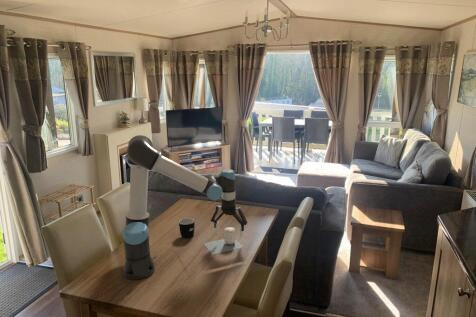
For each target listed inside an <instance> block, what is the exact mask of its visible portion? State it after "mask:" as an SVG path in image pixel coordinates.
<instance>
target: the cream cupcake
mask: <svg viewBox="0 0 476 317" xmlns="http://www.w3.org/2000/svg"><path fill="white" fill-rule="evenodd" d="M223 239H224V242H225V243H228V244H232V243H235V239H236V228H235V227H231V226H229V227H228V226H227V227H225V228H223Z"/></svg>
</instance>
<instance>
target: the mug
mask: <svg viewBox="0 0 476 317" xmlns="http://www.w3.org/2000/svg"><path fill="white" fill-rule="evenodd" d="M195 224H196V223H195V219H193V218H190V217H189V218H188V217H187V218H181V219H179V221H178V227H179V233H180V236H181V238H183V239H190V238H193V237H194V235H195V228H196V227H195Z"/></svg>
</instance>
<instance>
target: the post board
mask: <svg viewBox="0 0 476 317" xmlns="http://www.w3.org/2000/svg"><path fill="white" fill-rule="evenodd" d="M203 245H205V247H206V248H207V250H208V251H209V252H210V254H211V255H217V254H221V253H225V252H228V251H229V252H230V251H233V250H238V249H241V248H244V246H243V244H241V243H240V242H239V241H238V240H237V239H236V238H235V243H232V244H228V243H225V242H224V238H222V239H217V240H213V241H208V242H203Z"/></svg>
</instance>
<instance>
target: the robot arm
mask: <svg viewBox="0 0 476 317" xmlns="http://www.w3.org/2000/svg"><path fill="white" fill-rule="evenodd" d="M126 154H127V164H128V165H129V166H130V174H129V175H130V176H129V177H130V178H129V179H130V180H129V200H128V201H129V204H128V205H129V207H128V208H129V209H128V212H127V213H126V214H125V226H124V227H123V229H122V235H121V236H122V240H123V249H124V256H125V260H124V264H123V268H122V274H123V276H124V278H126V279H128V280H135V281H136V280H137V281H138V280H142V279H146V278H148V277H150V276H151V275H153V274H154V273H155V271H156V265H155V262H154V259H153V257H152V255H151V250H150V249H151V248H150V213H149V212H148V211H147V210H148V207H147V206H148V190H149V189H148V187H149V186H148V185H149V171H150V172H151V171H155V172H158V173H159V174H163V175H164V176H166V177H168V178H170V179H172V180H175V181H177V182H178V183H180V184H183V185H185V186H186V187H189V188H191V189H193V190H194V191H197V192H200V193H201V194H203V195H206V196H207V198H208V199H210V200H211V201H217V200H220V199H221V205H220V204H217V205H216V207H215V211H214V213H213V214H212V217H211V219H210V222H213V224H214V225H213V226H214V229H215V235H218V234H220V221H219V220H220V219H221V218H222V217H223V216H224V214H225V215H226V216H232V217H234V218H235V220H236V221H237V222H238V223H239V237H240V238H242V236H243V232H244V230H245V226H247V224H248V220H247V218H246V216H245V214H244V212H243V209H242V206H239V207H236V206H237V205H236V173H235V170H233V169H229V168H227V169H222V170H221V171H220V173H219V174H213V175H212V174H211V175H202V174H199V173H197V172H195V171H193V170H191V169H189V168H187V167H186V166H184V165H181V164H180V163H178V162H176V161H174V160H172V159H170V158H168V157H166V156H164V155H162V152H161V151H159V150H157V149H155V147H154V144H153V142H152V140H151V138H149V137H147V136H146V135H143V134H138V135H135V136H133V137H132V138H130V139H129V141H128V144H127V149H126ZM220 210H221V211H222V212H221V213H219V215H218V212H219V211H220ZM236 211H237V212H236ZM217 215H218V216H217ZM216 216H217V217H216Z"/></svg>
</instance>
